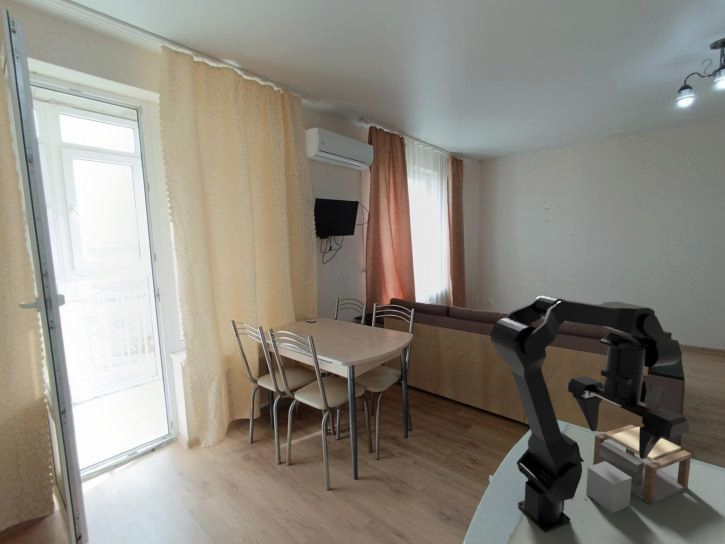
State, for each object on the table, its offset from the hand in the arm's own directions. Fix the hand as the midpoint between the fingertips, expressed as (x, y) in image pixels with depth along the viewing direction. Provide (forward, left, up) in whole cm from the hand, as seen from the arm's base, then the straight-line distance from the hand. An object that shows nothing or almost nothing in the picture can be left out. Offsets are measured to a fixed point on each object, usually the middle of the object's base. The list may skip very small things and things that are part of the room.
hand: (616, 443), depth 66 cm
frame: (+10, +1, -11) cm, 15 cm away
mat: (+10, +1, -11) cm, 15 cm away
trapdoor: (+10, +1, -9) cm, 13 cm away
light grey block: (-2, -1, -11) cm, 11 cm away
